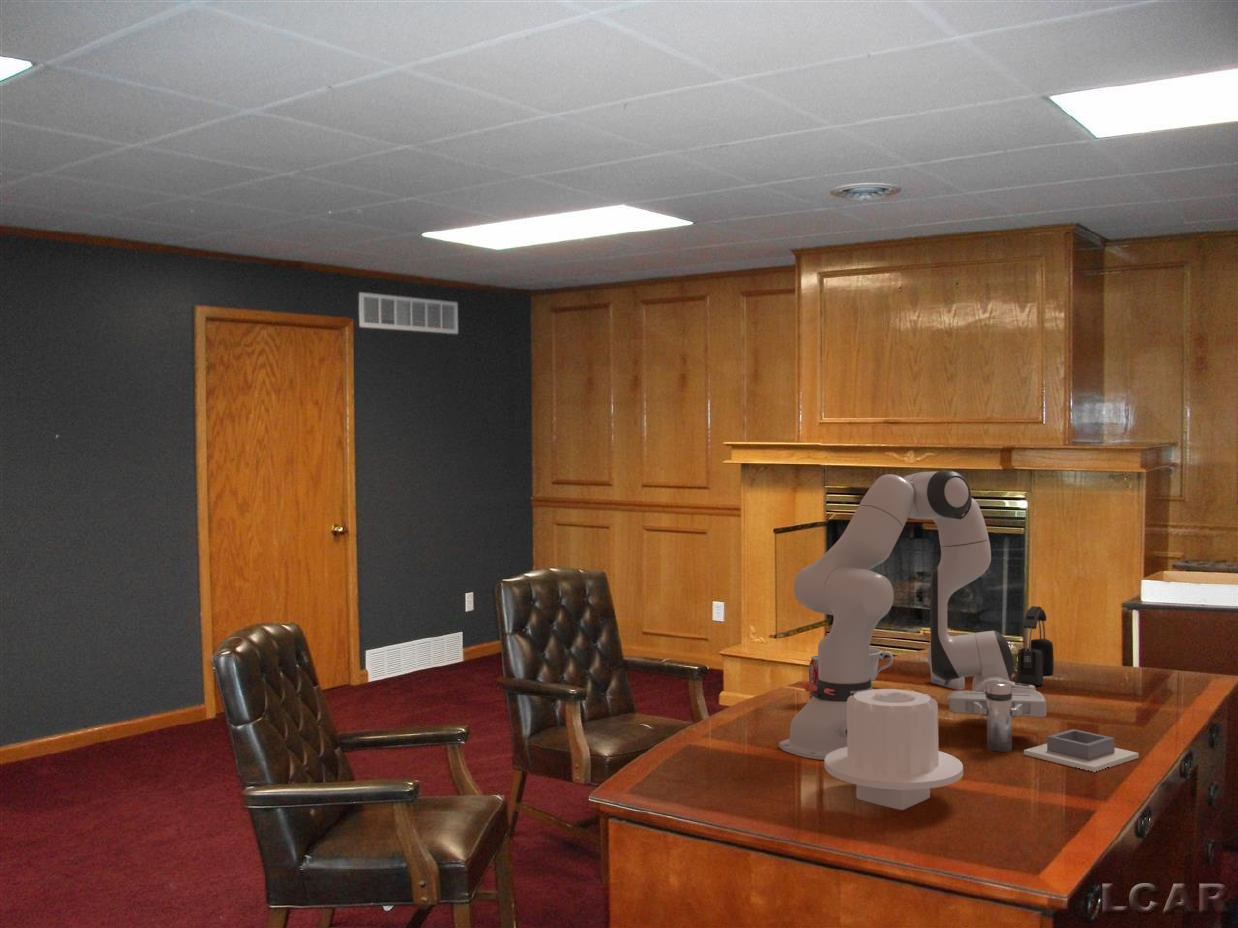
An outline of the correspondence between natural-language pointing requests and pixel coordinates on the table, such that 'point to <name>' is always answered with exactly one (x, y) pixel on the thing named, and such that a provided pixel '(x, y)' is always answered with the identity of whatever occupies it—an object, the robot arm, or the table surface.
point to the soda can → (813, 672)
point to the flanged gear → (893, 748)
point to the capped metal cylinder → (999, 716)
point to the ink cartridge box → (949, 682)
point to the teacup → (874, 659)
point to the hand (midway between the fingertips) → (999, 712)
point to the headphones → (1035, 651)
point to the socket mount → (1081, 750)
